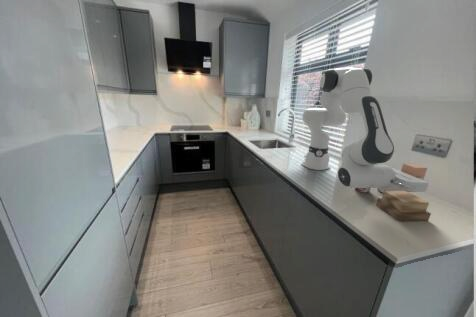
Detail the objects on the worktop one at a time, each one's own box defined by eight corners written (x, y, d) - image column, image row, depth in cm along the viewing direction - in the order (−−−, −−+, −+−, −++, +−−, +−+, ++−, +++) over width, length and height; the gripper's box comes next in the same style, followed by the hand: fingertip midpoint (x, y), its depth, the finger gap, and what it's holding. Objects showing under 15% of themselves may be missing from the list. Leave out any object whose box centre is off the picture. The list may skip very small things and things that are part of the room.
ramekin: (407, 201, 91) (412, 187, 89) (374, 192, 98) (377, 180, 96) (404, 190, 101) (408, 178, 99) (374, 184, 108) (377, 172, 106)
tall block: (396, 186, 80) (403, 163, 77) (407, 186, 81) (414, 163, 78) (407, 192, 75) (415, 167, 72) (419, 191, 76) (427, 167, 73)
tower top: (381, 199, 84) (384, 190, 83) (402, 199, 85) (405, 190, 84) (402, 212, 75) (405, 203, 74) (425, 211, 76) (429, 202, 75)
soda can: (372, 194, 96) (378, 171, 93) (356, 192, 97) (362, 170, 94) (366, 188, 103) (371, 166, 99) (351, 186, 104) (356, 165, 100)
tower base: (375, 206, 86) (378, 198, 85) (400, 205, 87) (403, 197, 86) (399, 222, 75) (402, 213, 74) (427, 222, 76) (431, 213, 75)
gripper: (408, 179, 64) (445, 179, 66) (364, 160, 84) (394, 160, 85) (403, 196, 66) (439, 196, 68) (361, 174, 86) (390, 174, 87)
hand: (413, 176), depth 76 cm, fingers closed on tall block, 5 cm apart
